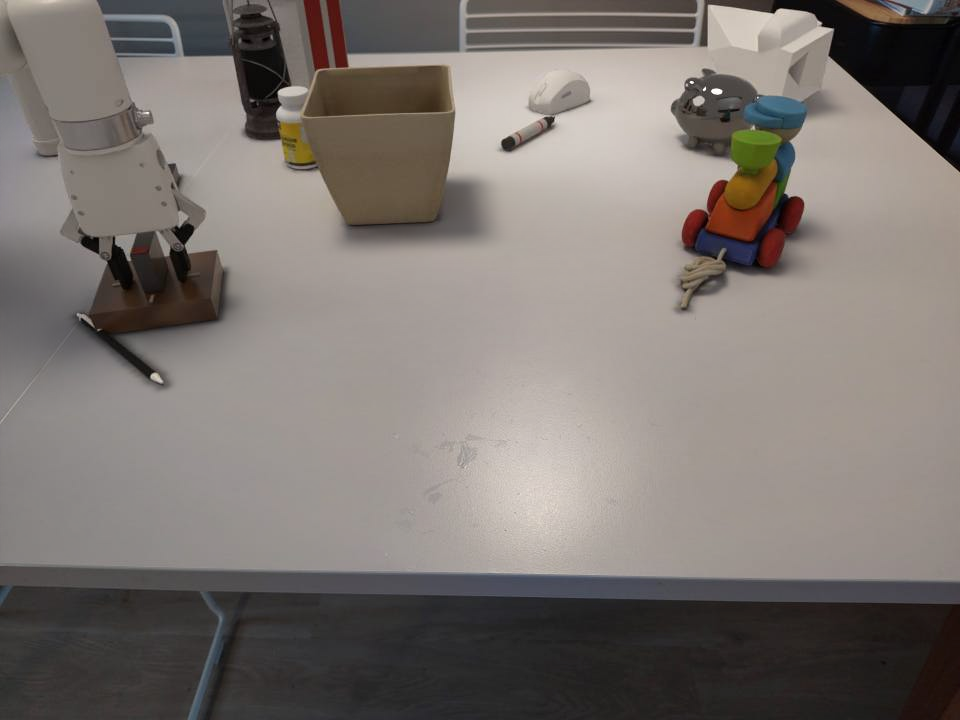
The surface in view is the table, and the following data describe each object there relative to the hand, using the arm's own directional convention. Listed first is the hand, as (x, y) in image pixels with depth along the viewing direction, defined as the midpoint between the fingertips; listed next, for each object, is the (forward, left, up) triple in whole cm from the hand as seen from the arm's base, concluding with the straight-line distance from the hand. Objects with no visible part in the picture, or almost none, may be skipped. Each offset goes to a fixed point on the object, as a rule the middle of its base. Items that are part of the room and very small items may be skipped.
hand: (155, 278), depth 80 cm
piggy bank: (+85, +26, -3) cm, 89 cm away
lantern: (+13, +54, -3) cm, 56 cm away
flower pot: (+30, +18, -3) cm, 35 cm away
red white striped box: (+18, +75, -3) cm, 77 cm away
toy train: (+71, -6, -3) cm, 71 cm away
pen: (-4, -8, -4) cm, 10 cm away
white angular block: (+104, +46, -3) cm, 114 cm away
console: (0, 0, -3) cm, 3 cm away
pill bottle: (+18, +37, -3) cm, 41 cm away
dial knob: (0, 0, 0) cm, 0 cm away
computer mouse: (+67, +52, -3) cm, 85 cm away
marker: (+57, +38, -3) cm, 69 cm away
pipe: (-24, +54, -3) cm, 59 cm away
